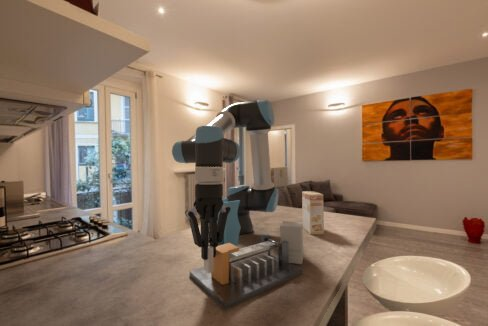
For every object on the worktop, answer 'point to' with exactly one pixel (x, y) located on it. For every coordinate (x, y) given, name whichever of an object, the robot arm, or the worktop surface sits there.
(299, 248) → the supplement box
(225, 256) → the lug slider
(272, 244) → the strap
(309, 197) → the coffeecake box
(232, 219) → the vase
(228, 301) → the heatsink
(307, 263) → the worktop surface
